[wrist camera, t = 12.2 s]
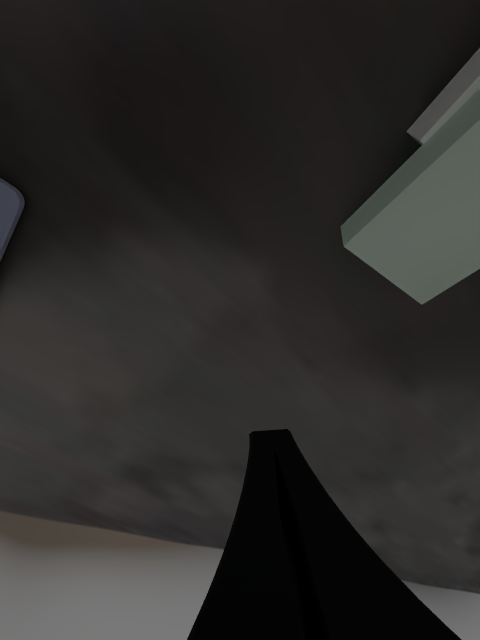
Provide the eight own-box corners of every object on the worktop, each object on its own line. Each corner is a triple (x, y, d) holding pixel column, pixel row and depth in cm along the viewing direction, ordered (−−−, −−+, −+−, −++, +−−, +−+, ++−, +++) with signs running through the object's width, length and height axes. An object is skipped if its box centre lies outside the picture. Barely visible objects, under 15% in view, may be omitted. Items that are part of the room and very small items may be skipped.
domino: (343, 246, 11) (607, 0, 7) (340, 226, 13) (563, 4, 8) (422, 304, 13) (693, 134, 8) (412, 281, 14) (644, 120, 9)
